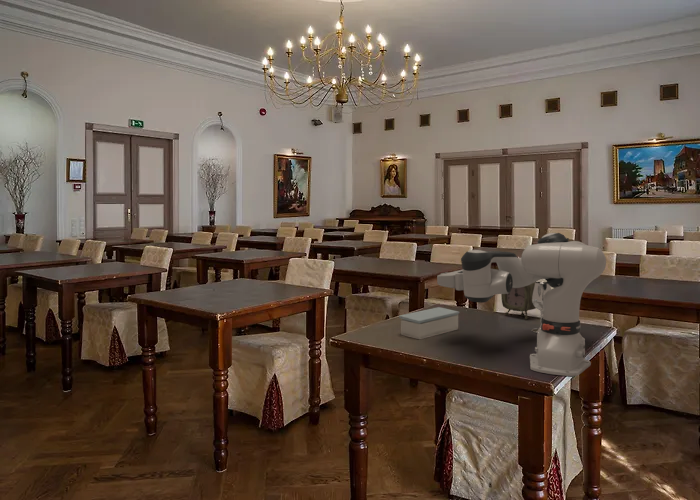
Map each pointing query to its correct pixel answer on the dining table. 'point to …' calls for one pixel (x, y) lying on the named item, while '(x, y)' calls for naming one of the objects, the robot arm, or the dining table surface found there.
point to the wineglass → (539, 298)
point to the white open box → (429, 327)
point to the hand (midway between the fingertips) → (442, 275)
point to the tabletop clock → (519, 299)
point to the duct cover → (428, 315)
